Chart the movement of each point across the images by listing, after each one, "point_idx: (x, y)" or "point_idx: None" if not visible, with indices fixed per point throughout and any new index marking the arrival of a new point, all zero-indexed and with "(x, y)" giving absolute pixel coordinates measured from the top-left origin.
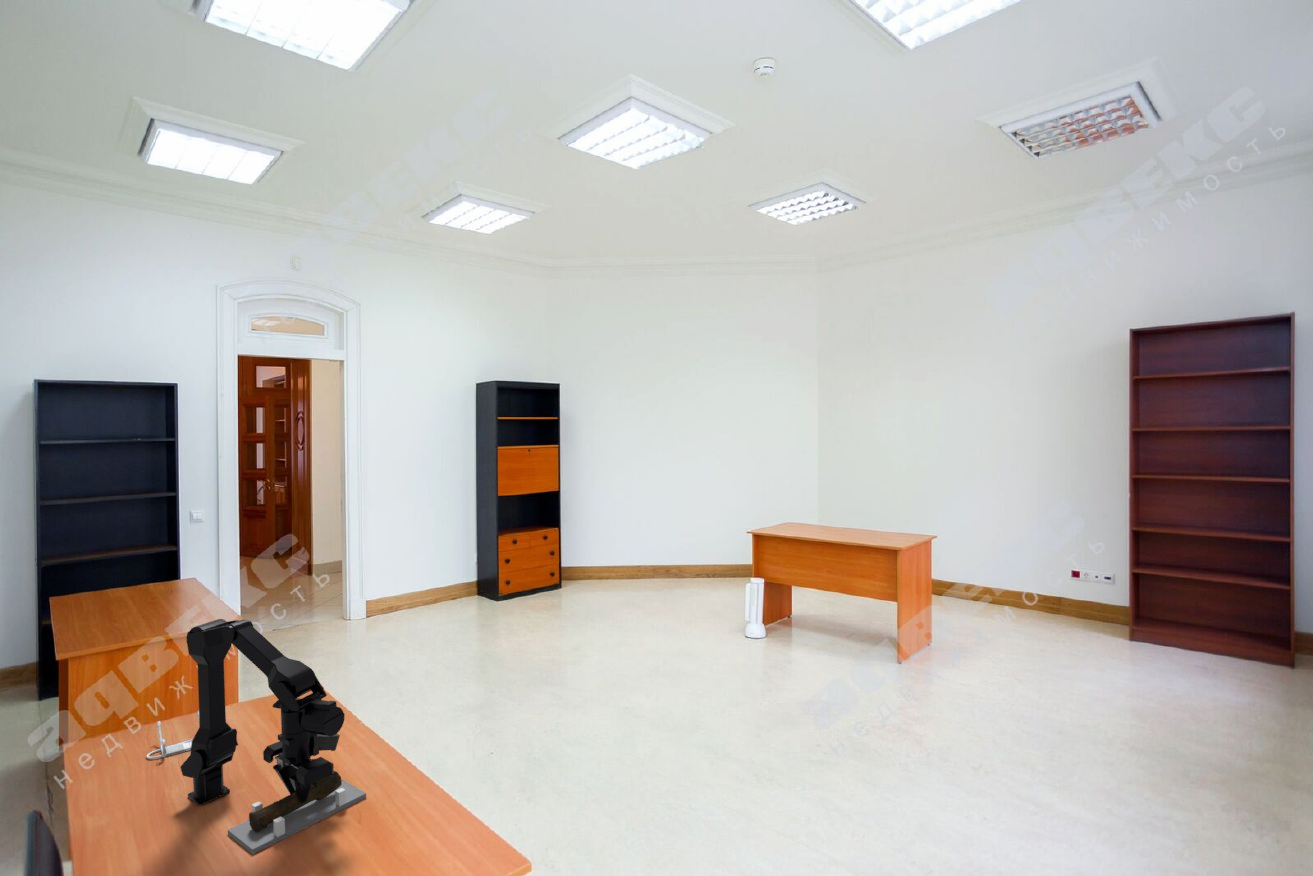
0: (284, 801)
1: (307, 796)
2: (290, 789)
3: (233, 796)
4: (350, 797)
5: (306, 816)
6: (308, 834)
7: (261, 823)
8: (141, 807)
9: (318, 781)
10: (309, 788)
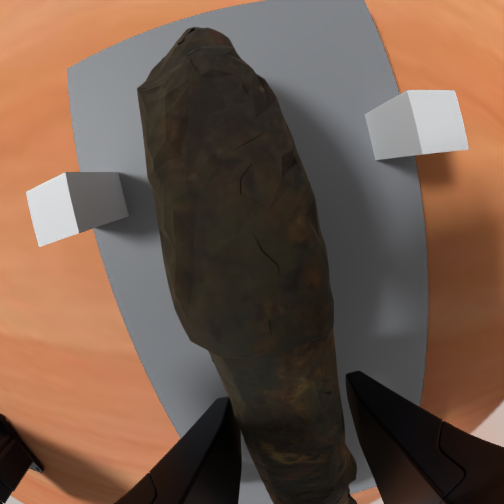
0: (328, 486)
1: (380, 384)
2: (235, 479)
3: (18, 419)
4: (357, 63)
5: (376, 335)
6: (460, 332)
7: (351, 499)
8: (31, 490)
9: (320, 308)
10: (433, 420)
